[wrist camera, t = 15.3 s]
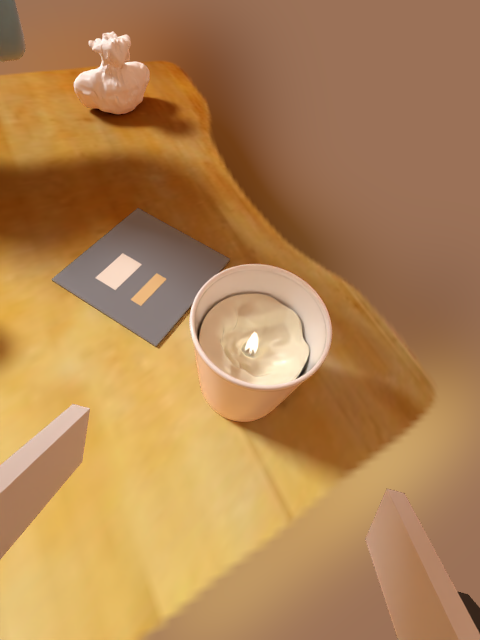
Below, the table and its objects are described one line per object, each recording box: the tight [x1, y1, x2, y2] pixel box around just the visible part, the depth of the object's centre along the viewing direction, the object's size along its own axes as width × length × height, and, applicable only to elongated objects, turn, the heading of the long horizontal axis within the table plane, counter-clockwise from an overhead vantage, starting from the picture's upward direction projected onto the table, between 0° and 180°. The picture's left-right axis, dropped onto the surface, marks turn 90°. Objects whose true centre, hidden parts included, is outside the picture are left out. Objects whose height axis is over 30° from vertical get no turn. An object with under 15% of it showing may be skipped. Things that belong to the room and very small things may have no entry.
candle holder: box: [190, 264, 332, 422], centre depth 28 cm, size 10×10×12 cm
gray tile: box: [52, 208, 230, 347], centre depth 38 cm, size 14×14×1 cm
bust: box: [74, 32, 149, 115], centre depth 50 cm, size 12×8×11 cm
